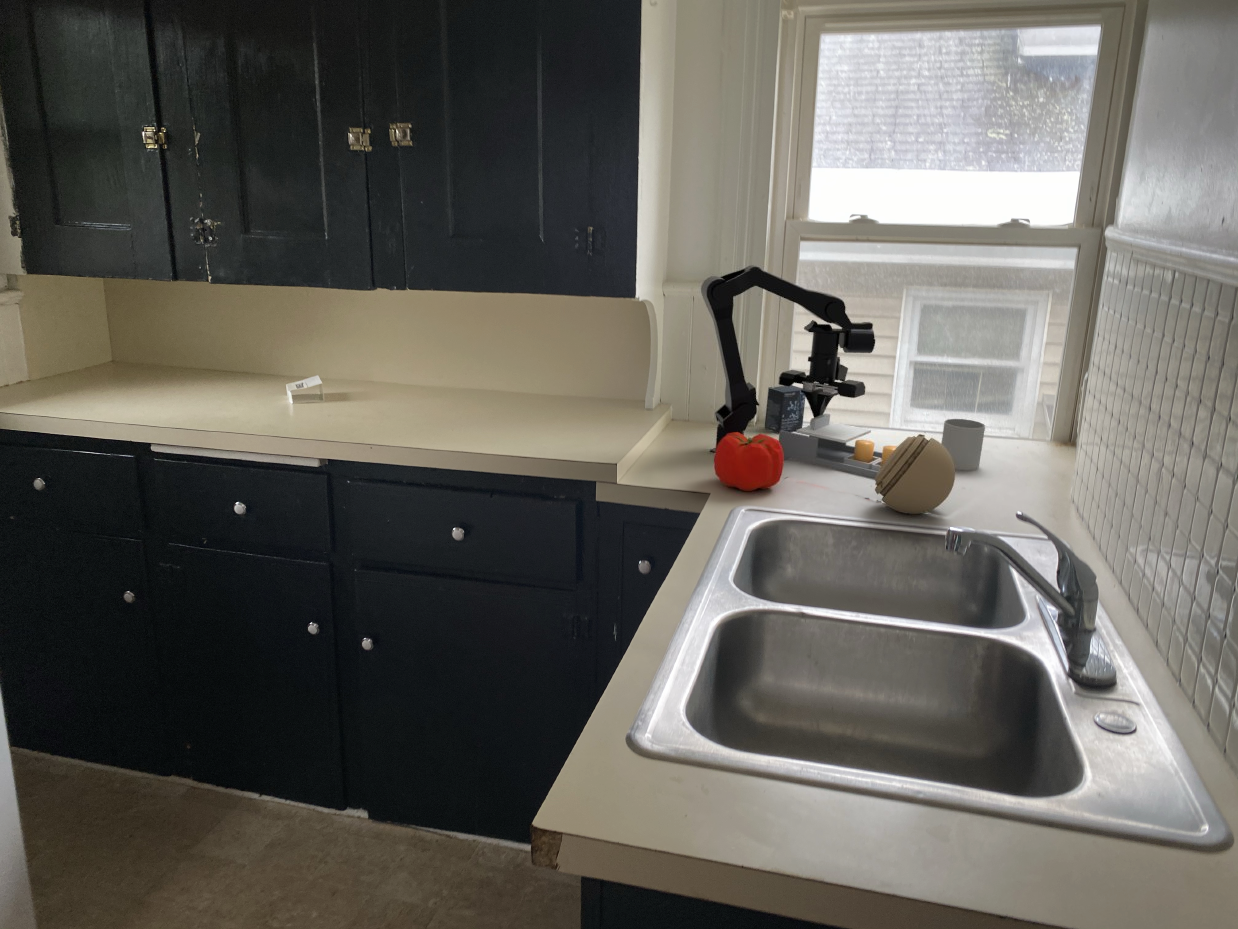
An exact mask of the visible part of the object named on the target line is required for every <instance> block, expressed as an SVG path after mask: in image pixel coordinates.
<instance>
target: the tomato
mask: <svg viewBox="0 0 1238 929" xmlns="http://www.w3.org/2000/svg"><path fill="white" fill-rule="evenodd" d="M715 448H716V447H715ZM784 462H785V461H784V455H783V449H782V446H781V444H780V442H779V439H776V438H774V437H772V436H770V435H767V434H763V433H759V434H758V435H757V434H756V435H754V436H753V437H746V436H745V434H744V435H742V434H740V433H738V432H733V433H728V434H727V435H726V436H725V437H723V438H722V439H721V441H720V442H719V443H718V445H717V448H716V451H715V453H714V459H713V469H714V472H715V475H716V476H717V478H718V479H719V480H720V482H721V483H722V484H723V485H725V486H726V487H728V488H729V487H730V488H737V489H739V490H741V491H744V492H751V491H754V490H757V489H763V490H764V489H769V488H772V487H773V486H775V485H777V484H778V483H779V482H780V480H781V477H782V475H783V470H784Z"/></svg>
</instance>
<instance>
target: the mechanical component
mask: <svg viewBox="0 0 1238 929" xmlns="http://www.w3.org/2000/svg"><path fill="white" fill-rule="evenodd" d="M941 443H942V442H939V440H937V439H935V438H933V437H931V438H930V439H927V438H926V436H925V434H921V433H919V434H917V436H915V435H913V436H907V437H906V439H904V440H903V441H902V442H901V443H899V445H898V446H897V448H896V449H895V450H894V451H893V452H892V454H891V455H890V456H889V457H888V458H887V460H886V461H885V463H884V464H883V465H882V467H881V469H880V470H879V472H878V474H877V476H876V477H875V478H874V481H875V488H874V492H875V493H876V495H879V494H880V495H881V496H882V498H881V501H882V502H883V504H884V505H886V506H888V507H889V508H891V509H893V510H894V511H896V512H899V513H902V512H903V514H907V513H909V515H910V514H911V515H917V514H924V513H927V512H929V511H930V512H931V511H932V510H934V509H936V508H938V507H939V506H940V505H941V504H943V503H944V501H946V500H947V498H948V497H949V495H950V494H951V492H952V490H953V488H954V485H955V480H956V469H955V467H954V463H953V460H952V457H951V455H950V454H949V452H948V451H947V449H946V448H945V447H944V446H943V445H942V444H941Z"/></svg>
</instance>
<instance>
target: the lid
mask: <svg viewBox="0 0 1238 929" xmlns="http://www.w3.org/2000/svg"><path fill="white" fill-rule="evenodd" d="M810 421H811V425H810V424H809V425H807V426H804V427H802V428H801V429H798V430H797V431H796V434H800V435H805V436H809V435H810V436H814V437H819V438H824V439H828V440H833V441H838V442H842V443H846V444H847V443H849V442H851V441H854V440H856V439H859V438H861V437H864V436H865V435H869V434H870V433H871V431H872V430H871V429H869V428H868V429H867V428H863V427H858V426H852V425H849V424H845V423H844V424H842V423H837V422H834V421H831V414H830V413H824V414H823V415H821V416H818V417H815V418H814V417H813V418H811V419H810Z"/></svg>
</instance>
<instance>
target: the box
mask: <svg viewBox="0 0 1238 929" xmlns="http://www.w3.org/2000/svg"><path fill="white" fill-rule="evenodd" d="M802 389H803V387H799V386H796V385H794V384H793V385H791V386H790V387H789V386H783V385H779V386H773V387H772V386H771V387H768V390H767V399H766V400H767V401H766V407H765V408H766V409H765V419H764V420H765V421H764V429H766V430H768V431H771V432H774V433H776V434H779V433H780V431H781V430H782V431H786V432H797V430H798V429H801V428H803V424H804V414H805V405H806V397H805V395H804V393H801V390H802Z"/></svg>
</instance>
